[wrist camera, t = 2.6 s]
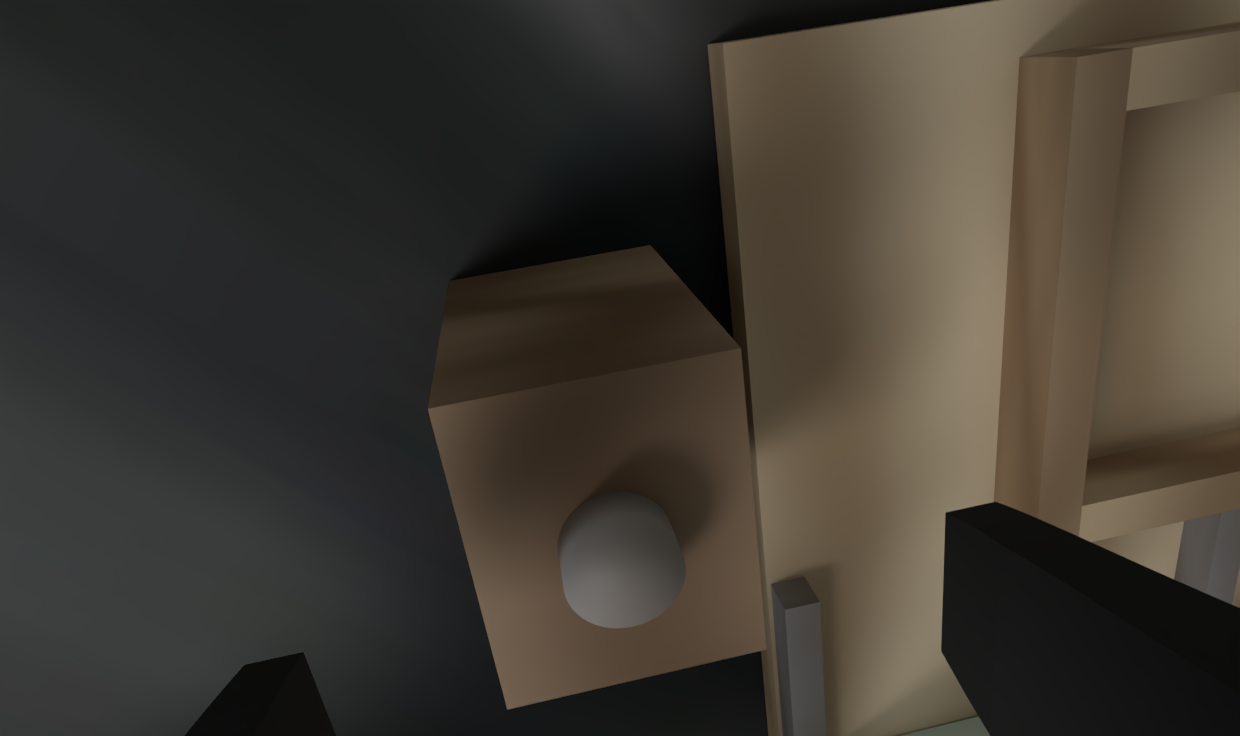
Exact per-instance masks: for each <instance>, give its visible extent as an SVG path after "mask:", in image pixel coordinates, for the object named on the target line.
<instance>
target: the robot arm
mask: <svg viewBox="0 0 1240 736" xmlns="http://www.w3.org/2000/svg"><path fill="white" fill-rule="evenodd" d="M941 652H942V654H943V655H944V657H945V659H946V661H947V662H948V664H949V666H950V668H951V670H952V671H953V673H954V675H955V677H956V678H957V680H958V682H959V684H960V686H961V687H962V689H963V691H964V693H965V694H966V696H967V698H968V700H969V701H970V703H971V705H972V706H973V708H974V710H975V711H976V713H977V715H978V716H979V718H980V720H981V721H982V723H983V725H984V726H985V728H986V730H987V731H988V733H989V734H990V736H1240V608H1239V607H1236V606H1234V605H1232V604H1229V603H1227V602H1225V601H1222V600H1220V599H1218V598H1215V597H1213V596H1211V595H1208V594H1206V593H1204V592H1201V591H1199V590H1197V589H1195V588H1192V587H1190V586H1188V585H1186V584H1183V583H1181V582H1179V581H1176V580H1174V579H1172V578H1170V577H1167V576H1165V575H1163V574H1161V573H1158V572H1156V571H1154V570H1152V569H1149V568H1147V567H1145V566H1143V565H1140V564H1138V563H1136V562H1134V561H1132V560H1129V559H1127V558H1125V557H1123V556H1120V555H1118V554H1116V553H1114V552H1112V551H1109V550H1107V549H1105V548H1103V547H1101V546H1098V545H1096V544H1094V543H1092V542H1089V541H1087V540H1085V539H1083V538H1081V537H1078V536H1076V535H1074V534H1072V533H1069V532H1067V531H1065V530H1063V529H1060V528H1058V527H1056V526H1054V525H1051V524H1049V523H1047V522H1045V521H1042V520H1040V519H1038V518H1035V517H1033V516H1031V515H1028V514H1026V513H1024V512H1021V511H1019V510H1016V509H1014V508H1011V507H1009V506H1006V505H1003V504H1001V503H998V502H992V503H987V504H982V505H978V506H973V507H969V508H964V509H959V510H955V511H950V512H946V514H945V545H944V576H943V608H942V639H941ZM185 736H336V735H335V732H334V730H333V727H332V725H331V722H330V719H329V717H328V714H327V712H326V709H325V707H324V704H323V702H322V699H321V696H320V694H319V691H318V689H317V686H316V684H315V681H314V678H313V676H312V673H311V671H310V668H309V666H308V663H307V660H306V658H305V655H304V653H303V652H302V653H297V654H293V655H288V656H284V657H279V658H274V659H270V660H265V661H261V662H256V663H251V664H247V665H244V666H243V667H242V668H241V670H240V671H239V672H238V673H237V674H236V675H235V676H234V677H233V679H232V680H231V681H230V682H229V683H228V684H227V685H226V687H225V688H224V689H223V690H222V691H221V693H220V694H219V695H218V696H217V697H216V699H215V700H214V701H213V702H212V703H211V704H210V706H209V707H208V708H207V709H206V710H205V712H204V713H203V714H202V715H201V717H200V718H199V719H198V720H197V721H196V723H195V724H194V725H193V726H192V727H191V729H190V730H189V731H188V732H187V734H186V735H185Z"/></svg>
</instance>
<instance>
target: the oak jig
mask: <svg viewBox="0 0 1240 736" xmlns="http://www.w3.org/2000/svg"><path fill="white" fill-rule="evenodd" d="M707 45H708V56H709V67H710V79H711V90H712V101H713V113H714V124H715V135H716V147H717V158H718V169H719V181H720V192H721V203H722V215H723V226H724V237H725V249H726V260H727V271H728V283H729V294H730V305H731V317H732V328H733V339H734V341H735V342H736V343H737V344H738V345H739V346H740V347H741V353H742V365H743V376H744V388H745V400H746V412H747V423H748V435H749V447H750V459H751V470H752V482H753V494H754V506H755V518H756V529H757V541H758V553H759V565H760V576H761V588H762V600H763V612H764V623H765V635H766V647H767V649H766V650H762V651H761V657H762V668H763V680H764V691H765V702H766V714H767V725H768V736H901V735H905V734H909V733H913V732H917V731H921V730H925V729H929V728H933V727H937V726H941V725H945V724H950V723H954V722H958V721H962V720H966V719H970V718H974V717H978V715H977V713H976V711H975V710H974V708H973V706H972V705H971V703H970V701H969V700H968V698H967V696H966V694H965V693H964V691H963V689H962V687H961V686H960V684H959V682H958V680H957V678H956V677H955V675H954V673H953V671H952V670H951V668H950V666H949V664H948V662H947V661H946V659H945V657H944V655H943V654H942V652H941V639H942V608H943V576H944V545H945V514H946V512H950V511H955V510H959V509H964V508H969V507H973V506H978V505H982V504H987V503H992V502H998V503H1001V504H1003V505H1006V506H1009V507H1011V508H1014V509H1016V510H1019V511H1021V512H1024V513H1026V514H1028V515H1031V516H1033V517H1035V518H1038V519H1040V520H1042V521H1045V522H1047V523H1049V524H1051V525H1054V526H1056V527H1058V528H1060V529H1063V530H1065V531H1067V532H1069V533H1072V534H1074V535H1076V536H1078V537H1081V538H1083V539H1085V540H1087V541H1089V542H1092V543H1094V544H1096V545H1098V546H1101V547H1103V548H1105V549H1107V550H1109V551H1112V552H1114V553H1116V554H1118V555H1120V556H1123V557H1125V558H1127V559H1129V560H1132V561H1134V562H1136V563H1138V564H1140V565H1143V566H1145V567H1147V568H1149V569H1152V570H1154V571H1156V572H1158V573H1161V574H1163V575H1165V576H1167V577H1170V578H1172V579H1174V580H1176V581H1179V582H1181V583H1183V584H1186V585H1188V586H1190V587H1192V588H1195V589H1197V590H1199V591H1201V592H1204V593H1206V594H1208V595H1211V596H1213V597H1215V598H1218V599H1220V600H1222V601H1225V602H1227V603H1229V604H1232V605H1234V606H1236V607H1239V608H1240V0H991V1H985V2H978V3H972V4H965V5H959V6H952V7H946V8H939V9H933V10H926V11H920V12H913V13H907V14H901V15H894V16H888V17H881V18H875V19H868V20H862V21H855V22H849V23H842V24H836V25H829V26H823V27H816V28H810V29H804V30H797V31H791V32H784V33H778V34H771V35H765V36H758V37H752V38H745V39H739V40H732V41H726V42H720V43H713V44H707Z"/></svg>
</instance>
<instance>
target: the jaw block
mask: <svg viewBox="0 0 1240 736" xmlns="http://www.w3.org/2000/svg"><path fill="white" fill-rule="evenodd" d="M428 411H429V415H430V419H431V423H432V427H433V430H434V434H435V438H436V442H437V445H438V449H439V453H440V457H441V461H442V464H443V468H444V472H445V476H446V479H447V483H448V487H449V491H450V495H451V498H452V502H453V506H454V510H455V514H456V517H457V521H458V525H459V529H460V532H461V536H462V540H463V544H464V548H465V551H466V555H467V559H468V563H469V567H470V570H471V574H472V578H473V582H474V585H475V589H476V593H477V597H478V601H479V604H480V608H481V612H482V616H483V620H484V623H485V627H486V631H487V635H488V638H489V642H490V646H491V650H492V654H493V657H494V661H495V665H496V669H497V673H498V676H499V680H500V684H501V688H502V691H503V695H504V699H505V703H506V707H507V710H508V709H512V708H517V707H521V706H525V705H530V704H534V703H538V702H542V701H547V700H551V699H555V698H560V697H564V696H568V695H573V694H577V693H581V692H586V691H590V690H594V689H598V688H603V687H607V686H611V685H616V684H620V683H624V682H629V681H633V680H637V679H642V678H646V677H650V676H654V675H659V674H663V673H667V672H672V671H676V670H680V669H685V668H689V667H693V666H698V665H702V664H706V663H710V662H715V661H719V660H723V659H728V658H732V657H736V656H741V655H745V654H749V653H754V652H758V651H762V650H766V649H767V647H766V635H765V623H764V612H763V600H762V588H761V576H760V565H759V553H758V541H757V529H756V518H755V506H754V494H753V482H752V470H751V459H750V447H749V435H748V423H747V412H746V400H745V388H744V376H743V365H742V353H741V347H740V346H739V345H738V344H737V343H736V342H735V341H734V339H733V338H732V337H731V336H730V335H729V334H728V333H727V332H726V330H725V329H724V328H723V327H722V326H721V325H720V324H719V322H718V321H717V320H716V319H715V318H714V317H713V316H712V314H711V313H710V312H709V311H708V310H707V309H706V308H705V307H704V305H703V304H702V303H701V302H700V301H699V300H698V299H697V297H696V296H695V295H694V294H693V293H692V292H691V291H690V289H689V288H688V287H687V286H686V285H685V284H684V283H683V282H682V280H681V279H680V278H679V277H678V276H677V275H676V274H675V272H674V271H673V270H672V269H671V268H670V267H669V266H668V264H667V263H666V262H665V261H664V260H663V259H662V258H661V257H660V255H659V254H658V253H657V252H656V251H655V250H654V249H653V247H652V246H651V245H648V246H642V247H636V248H631V249H625V250H620V251H614V252H608V253H603V254H597V255H592V256H586V257H580V258H575V259H569V260H564V261H558V262H552V263H547V264H541V265H536V266H530V267H524V268H519V269H513V270H508V271H502V272H496V273H491V274H485V275H480V276H474V277H468V278H463V279H457V280H452V281H449V285H448V291H447V297H446V303H445V309H444V315H443V321H442V327H441V333H440V339H439V345H438V351H437V357H436V363H435V369H434V375H433V381H432V387H431V393H430V399H429V405H428Z"/></svg>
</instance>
